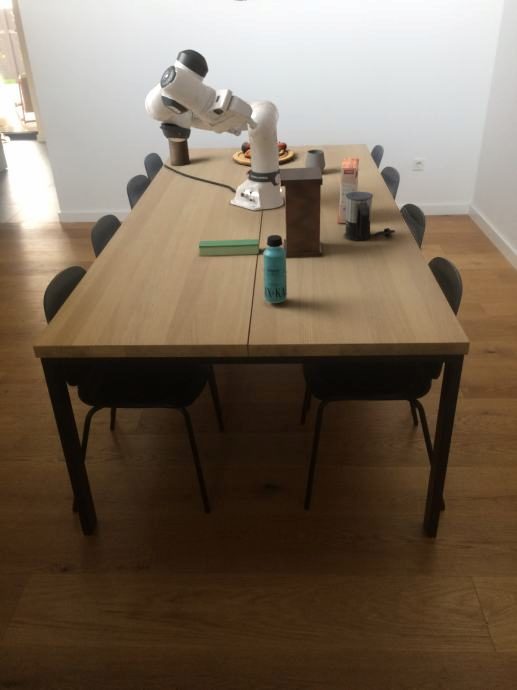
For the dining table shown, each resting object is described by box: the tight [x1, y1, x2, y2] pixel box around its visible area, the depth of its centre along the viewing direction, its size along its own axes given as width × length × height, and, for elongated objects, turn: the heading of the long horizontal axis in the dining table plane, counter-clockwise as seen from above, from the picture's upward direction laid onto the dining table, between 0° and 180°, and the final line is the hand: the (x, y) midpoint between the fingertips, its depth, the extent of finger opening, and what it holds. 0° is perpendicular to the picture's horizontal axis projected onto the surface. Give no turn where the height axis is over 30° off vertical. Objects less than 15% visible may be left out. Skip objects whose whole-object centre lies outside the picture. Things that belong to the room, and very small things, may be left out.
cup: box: [305, 149, 326, 174], centre depth 271 cm, size 10×9×10 cm
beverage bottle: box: [262, 234, 288, 304], centre depth 160 cm, size 6×7×20 cm
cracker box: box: [338, 157, 360, 224], centre depth 215 cm, size 14×6×21 cm, turn 168°
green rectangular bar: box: [198, 238, 260, 257], centre depth 196 cm, size 20×5×4 cm, turn 89°
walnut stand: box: [280, 167, 324, 259], centre depth 190 cm, size 13×13×26 cm
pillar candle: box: [167, 139, 191, 167], centre depth 295 cm, size 10×10×15 cm
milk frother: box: [344, 190, 396, 241], centre depth 200 cm, size 14×16×15 cm
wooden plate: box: [232, 141, 295, 167], centre depth 298 cm, size 32×32×8 cm
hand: (247, 130), depth 182 cm, fingers open, 8 cm apart
